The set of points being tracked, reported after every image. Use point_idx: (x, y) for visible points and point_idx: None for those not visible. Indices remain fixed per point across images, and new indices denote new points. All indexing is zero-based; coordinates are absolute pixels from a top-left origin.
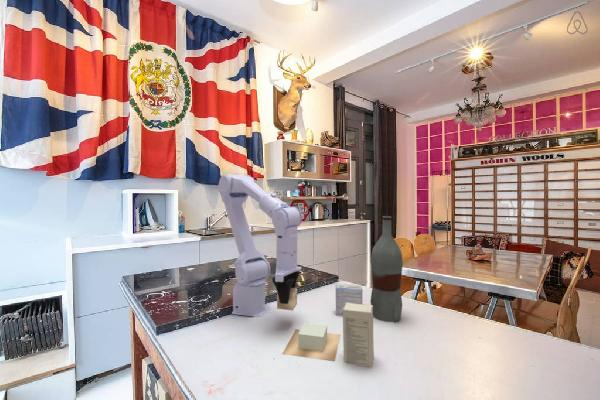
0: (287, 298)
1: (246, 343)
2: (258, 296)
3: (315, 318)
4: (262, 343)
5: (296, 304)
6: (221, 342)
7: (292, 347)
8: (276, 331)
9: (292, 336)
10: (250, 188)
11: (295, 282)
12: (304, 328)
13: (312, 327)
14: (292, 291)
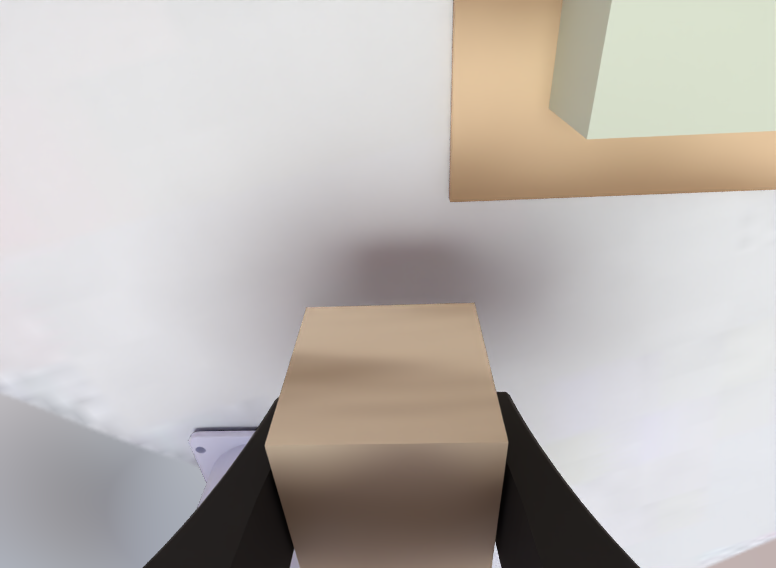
0: (533, 441)
1: (638, 393)
2: (295, 557)
3: (183, 98)
4: (638, 329)
5: (332, 309)
6: (630, 474)
7: (726, 146)
8: (484, 307)
9: (565, 192)
10: None
11: (226, 546)
12: (723, 98)
13: (705, 11)
14: (414, 466)
